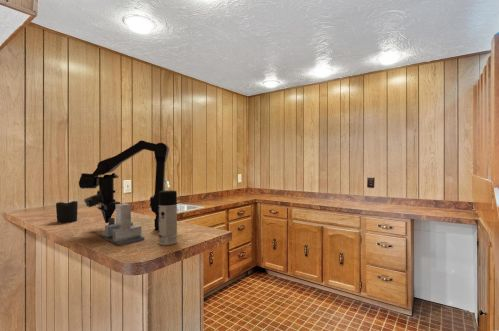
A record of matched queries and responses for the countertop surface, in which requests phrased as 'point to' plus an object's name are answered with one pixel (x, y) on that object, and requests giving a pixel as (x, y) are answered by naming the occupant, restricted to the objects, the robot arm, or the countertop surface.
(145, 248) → the countertop surface
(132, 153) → the robot arm
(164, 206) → the spray can
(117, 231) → the vise base
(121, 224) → the steel block
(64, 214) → the pen holder
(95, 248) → the countertop surface
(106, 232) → the sliding jaw
